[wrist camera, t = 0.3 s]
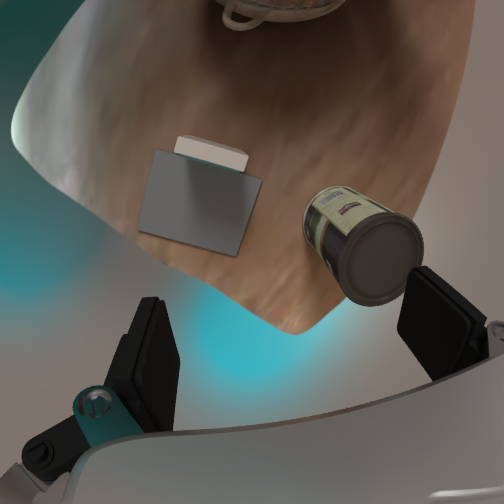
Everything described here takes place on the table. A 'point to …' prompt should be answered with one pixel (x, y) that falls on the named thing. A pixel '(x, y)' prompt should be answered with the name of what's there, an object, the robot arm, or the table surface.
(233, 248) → the mat
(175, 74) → the table surface
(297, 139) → the table surface
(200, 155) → the tile
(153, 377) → the robot arm
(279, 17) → the cooking pot
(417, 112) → the table surface
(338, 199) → the coffee can
